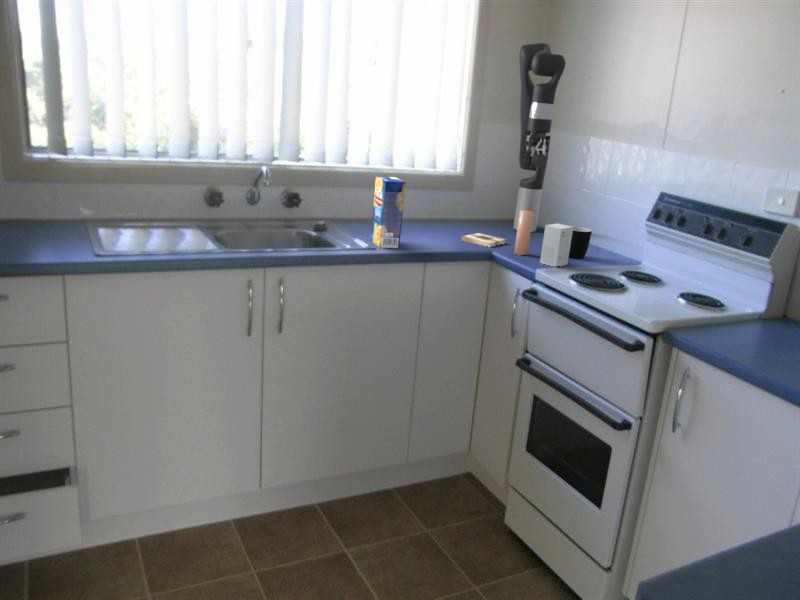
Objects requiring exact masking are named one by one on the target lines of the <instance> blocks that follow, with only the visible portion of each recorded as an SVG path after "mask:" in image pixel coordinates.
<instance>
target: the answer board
mask: <svg viewBox="0 0 800 600" xmlns="http://www.w3.org/2000/svg"><path fill="white" fill-rule="evenodd" d="M460 241H462V242H465V243H469V244H470V243H471V244H474V245H478V246H482V245H483V247H486V246H488V247H487V248H493V247H497V246H496V245H498V246H500V244H502V245H506V244H507V241H508V239H507V238H502V237H498V236H493V235H490V234H484V233H481V232H477V233H473V234H472V233H471V234H466V235H462V236H461V240H460ZM505 243H506V244H505ZM492 246H493V247H492Z"/></svg>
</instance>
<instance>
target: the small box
mask: <svg viewBox="0 0 800 600" xmlns="http://www.w3.org/2000/svg"><path fill="white" fill-rule="evenodd" d="M572 226H573V225H566V224H563V223H558V222H557V223H552V224H546V225H545V226H544V231H543V232H544V233H543V238H542V239H543V240H542V246H541V254H540V259H539V260H540V261H539V264H540V263H542V264H541V265H543V264H546V265H545V266H547V265H550V266H549V267H551V266H556V268H558V267H557V266H560V267H562V266H567V265H569V264H568V262H569V258H568V257H569V251H570V245H571V238H572V232H573V227H572Z"/></svg>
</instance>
